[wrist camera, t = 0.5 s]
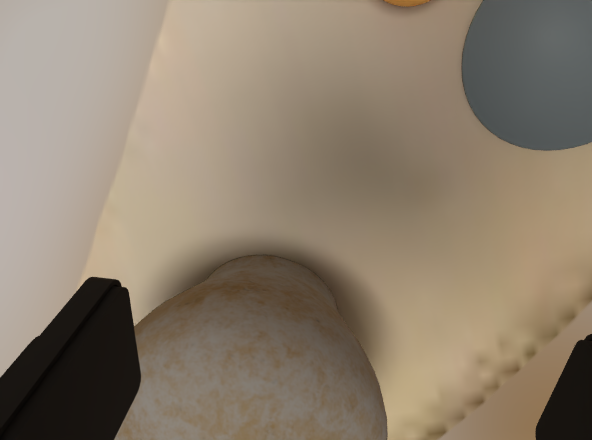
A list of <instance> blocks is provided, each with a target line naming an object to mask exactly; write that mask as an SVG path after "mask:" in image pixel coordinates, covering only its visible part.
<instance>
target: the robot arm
mask: <svg viewBox="0 0 592 440" xmlns="http://www.w3.org/2000/svg"><path fill="white" fill-rule="evenodd" d="M140 383H141V371H140V364H139V357H138V351H137V344H136V337H135V331H134V324H133V318H132V311H131V304H130V298H129V292H128V289H127V288H125V287H122V286H121V283H120V281H119V280H116V279H107V278H98V277H90V278H88V279H87V280H86V281H85V282H84V283H83V285H82V286H81V287H80V288H79V289H78V291H77V292H76V293H75V294H74V295H73V297H72V298H71V299H70V300H69V301H68V303H67V304H66V305H65V306H64V307H63V309H62V310H61V311H60V312H59V313H58V314H57V316H56V317H55V318H54V319H53V320H52V322H51V323H50V324H49V325H48V326H47V328H46V329H45V330H44V331H43V332H42V333H41V335H40V336H38V337H36V338H35V339H34V340H33V341H32V342H31V343H30V344H29V345H28V346H27V347H26V348H25V349H24V351H23V352H22V353H21V354H20V356H19V357H18V358H17V359H16V360H15V361H14V362H13V364H12V365H11V366H10V367H9V368H8V369H7V371H6V372H5V373H4V374H3V375H2V376H1V378H0V440H114V439H115V437H116V435H117V433H118V431H119V429H120V427H121V425H122V423H123V421H124V419H125V417H126V415H127V413H128V411H129V409H130V407H131V405H132V403H133V401H134V399H135V397H136V395H137V393H138V390H139V387H140ZM536 440H592V334H590V335H588V336H587V337H586V338H585V339H584V340H580V341H578V342H577V343H576V345H575V347H574V349H573V351H572V353H571V355H570V357H569V359H568V361H567V363H566V365H565V368H564V370H563V372H562V374H561V376H560V378H559V380H558V382H557V384H556V387H555V388H554V390H553V392H552V395H551V397H550V399H549V401H548V403H547V405H546V407H545V409H544V411H543V413H542V415H541V418H540V419H539V422H538V424H537V426H536Z"/></svg>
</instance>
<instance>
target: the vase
mask: <svg viewBox="0 0 592 440" xmlns="http://www.w3.org/2000/svg"><path fill="white" fill-rule="evenodd" d="M134 331H135V337H136V344H137V351H138V357H139V364H140V371H141V383H140V387H139V390H138V393H137V395H136V397H135V399H134V401H133V403H132V405H131V407H130V409H129V411H128V413H127V415H126V417H125V419H124V421H123V423H122V425H121V427H120V429H119V431H118V433H117V435H116V437H115V439H114V440H387V416H386V412H385V407H384V402H383V398H382V394H381V390H380V385H379V383H378V380H377V377H376V374H375V372H374V370H373V368H372V366H371V364H370V362H369V360H368V358H367V356H366V354H365V352H364V350H363V348H362V346H361V344H360V343H359V341H358V340H357V338H356V337H355V336H354V334H353V333H352V331H351V330H350V329H349V327H348V326H347V324H346V323H345V322H344V320H343V319H342V317H341V316H340V315H339V313H338V308H337V305H336V301H335V299H334V297H333V295H332V293H331V291H330V289H329V288H328V287H327V285H326V284H325V283H324V282H323V281H322V280H321V279H320V278H319V277H318V276H317V275H316V274H315V273H313V272H312V271H310V270H309V269H307V268H306V267H304V266H302V265H300V264H297V263H295V262H292V261H289V260H287V259H284V258H281V257H275V256H268V255H253V256H246V257H240V258H237V259H234V260H231V261H229V262H227V263H225V264H224V265H222V266H220V267H219V268H218V269H216V270H215V271H214V272H213V273H212V274H211V275H210V276H209V277H208V279H207V280H206V281H204V282H202V283H200V284H198V285H196V286H194V287H192V288H190V289H188V290H186V291H184V292H182V293H181V294H179V295H177V296H175V297H173V298H171V299H169V300H168V301H166V302H164V303H163V304H161V305H160V306H158V307H157V308H155V309H154V310H153V311H152V312H151V313H149V314H148V315H147V316H146V317H145V318H144V319H142V320H141V321H140V322H139V323H138V324H137V325H136V326H134Z"/></svg>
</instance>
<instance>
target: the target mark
mask: <svg viewBox="0 0 592 440" xmlns="http://www.w3.org/2000/svg"><path fill="white" fill-rule="evenodd" d="M462 79H463V85H464V90H465V94H466V96H467V99H468V102H469V104H470V106H471V108H472V110H473V112H474V113H475V115H476V116H477V117H478V119H479V120H480V121H481V123H482V124H483V125H484V126H485V127H486V128H487V129H488V130H489V131H490V132H492V133H493V134H495V135H496V136H498V137H499V138H500V139H502V140H504V141H506V142H509V143H511V144H513V145H516V146H519V147H523V148H528V149H533V150H546V151H547V150H562V149H568V148H574V147H577V146H581V145H585V144H588V143H590V142H592V0H483V2H482V3H481V5H480V7H479V8H478V10H477V12H476V14H475V16H474V18H473V20H472V23H471V25H470V27H469V30H468V34H467V37H466V40H465V45H464V50H463V56H462Z"/></svg>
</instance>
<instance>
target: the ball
mask: <svg viewBox="0 0 592 440" xmlns="http://www.w3.org/2000/svg"><path fill="white" fill-rule="evenodd" d="M384 1H386V2H388V3H390V4H393V5H397V6H406V7H409V6H416V5H420V4H423V3H426V2H428V1H430V0H384Z"/></svg>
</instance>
